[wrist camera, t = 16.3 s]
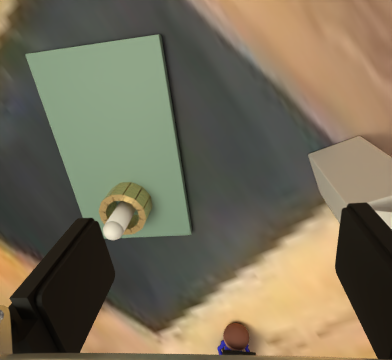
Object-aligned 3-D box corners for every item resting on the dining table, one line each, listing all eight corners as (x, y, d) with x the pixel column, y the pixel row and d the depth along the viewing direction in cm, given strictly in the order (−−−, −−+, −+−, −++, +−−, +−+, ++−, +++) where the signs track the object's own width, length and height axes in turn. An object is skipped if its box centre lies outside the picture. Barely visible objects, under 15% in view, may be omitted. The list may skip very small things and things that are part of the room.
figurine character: (244, 357, 64) (254, 319, 56) (246, 396, 58) (257, 361, 49) (215, 353, 65) (220, 316, 56) (213, 392, 58) (219, 356, 50)
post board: (32, 53, 38) (-32, 56, 28) (161, 34, 35) (138, 31, 26) (94, 234, 50) (64, 277, 41) (191, 229, 48) (183, 274, 38)
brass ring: (104, 183, 44) (93, 196, 40) (147, 180, 43) (140, 193, 39) (115, 220, 47) (106, 235, 43) (155, 218, 46) (149, 233, 42)
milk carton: (319, 193, 43) (382, 292, 26) (307, 153, 40) (368, 233, 23) (369, 177, 41) (472, 272, 24) (359, 134, 38) (466, 206, 21)
